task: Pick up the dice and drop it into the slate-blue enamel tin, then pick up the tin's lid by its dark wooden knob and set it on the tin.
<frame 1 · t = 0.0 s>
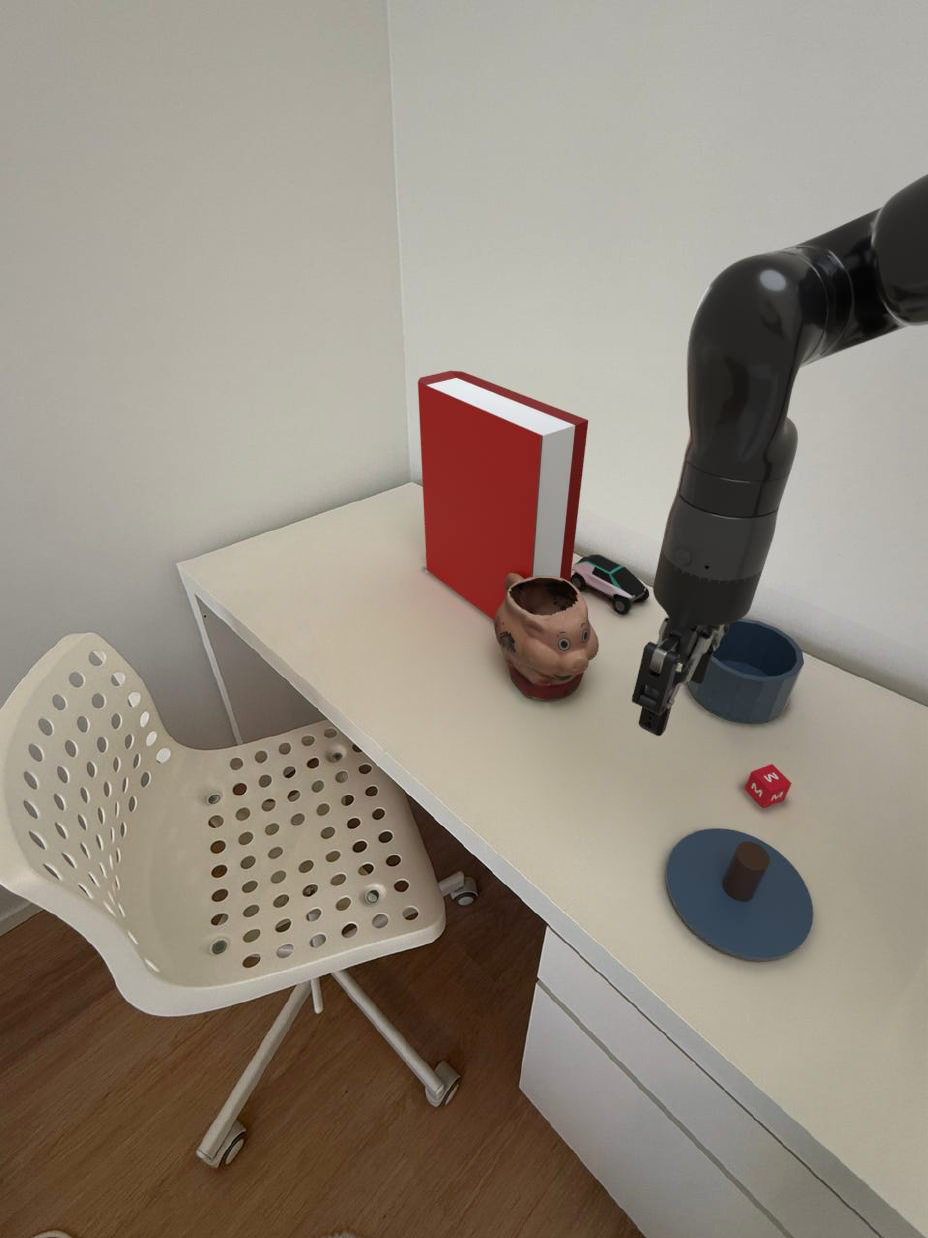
hand: (672, 702, 59), 19 cm above the table, tool pointing down, fingers open, 8 cm apart
tin: (735, 689, 88), on the table
decorative planter: (537, 672, 91), on the table
dice: (763, 795, 74), on the table
toy car: (606, 594, 106), on the table
book: (489, 594, 106), on the table
lid: (736, 890, 64), point 1 cm above the table
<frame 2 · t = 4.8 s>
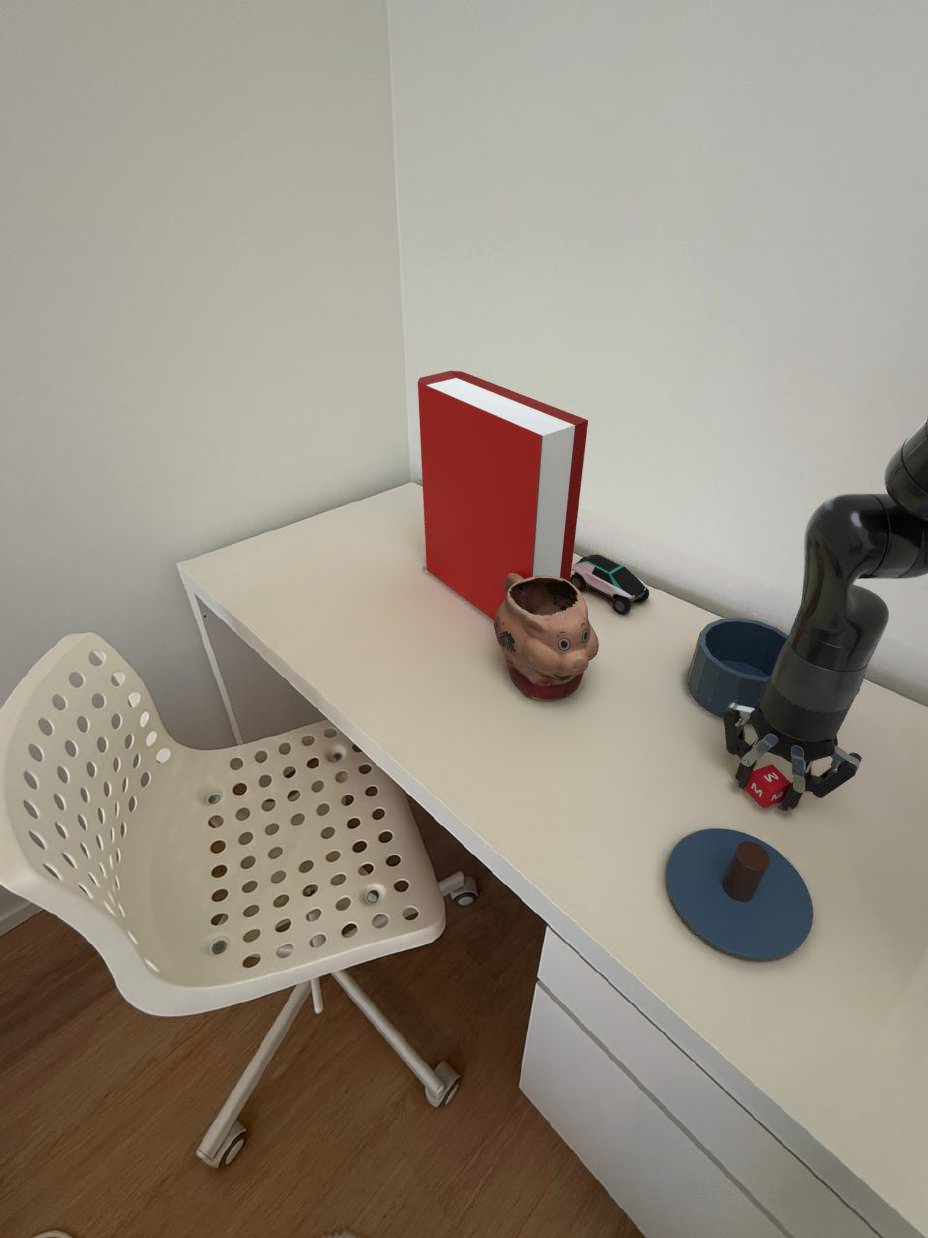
hand: (764, 793, 74), 0 cm above the table, tool pointing down, fingers closed on dice, 4 cm apart
dice: (763, 795, 74), on the table, touching gripper
everything else where it was.
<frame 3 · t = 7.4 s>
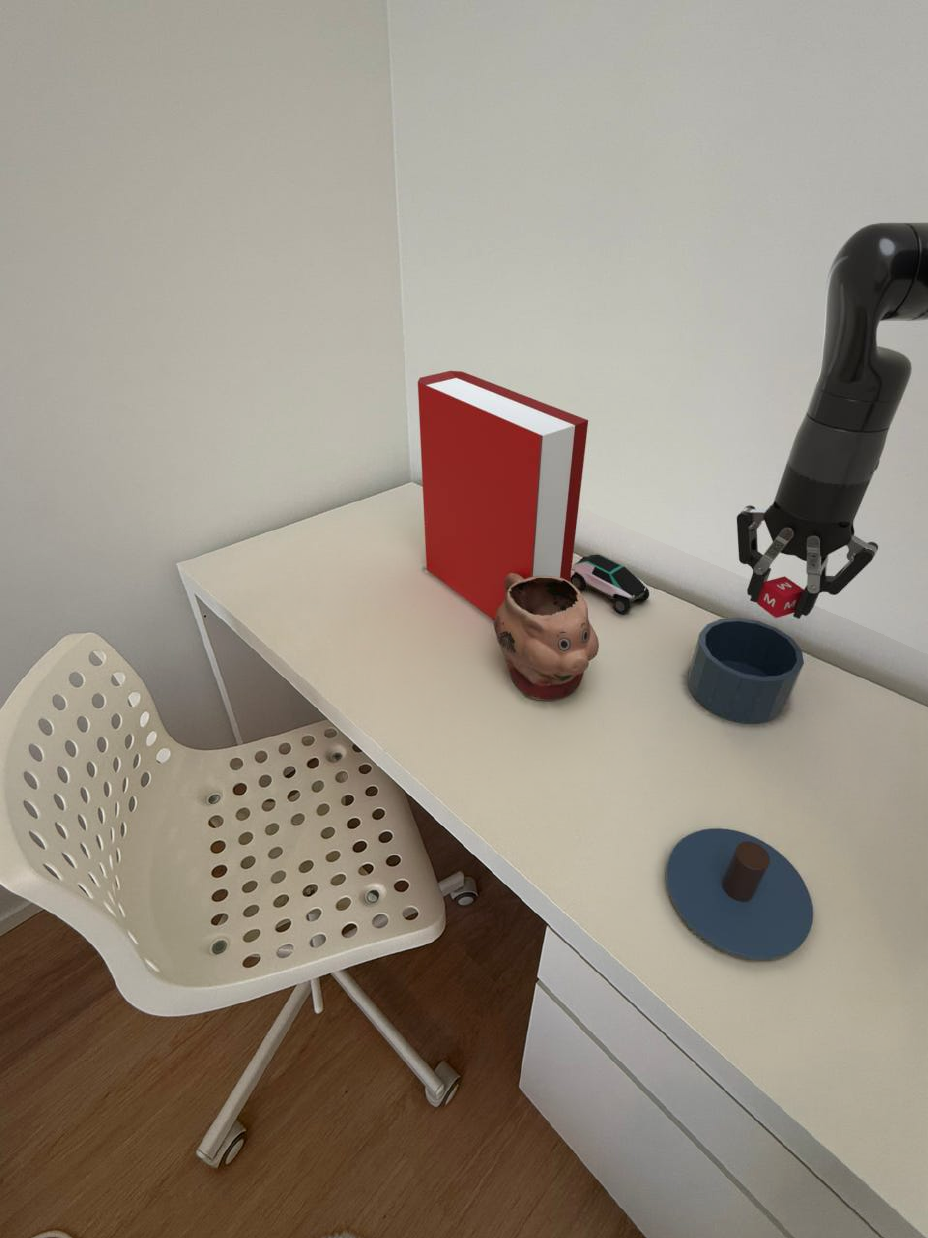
hand: (777, 605, 73), 18 cm above the table, tool pointing down, fingers closed on dice, 4 cm apart
dice: (775, 609, 73), point 17 cm above the table, touching gripper
everything else where it was.
when the fingers open (7 cm above the table, at t = 10.3 s): dice drops 6 cm, resting on tin.
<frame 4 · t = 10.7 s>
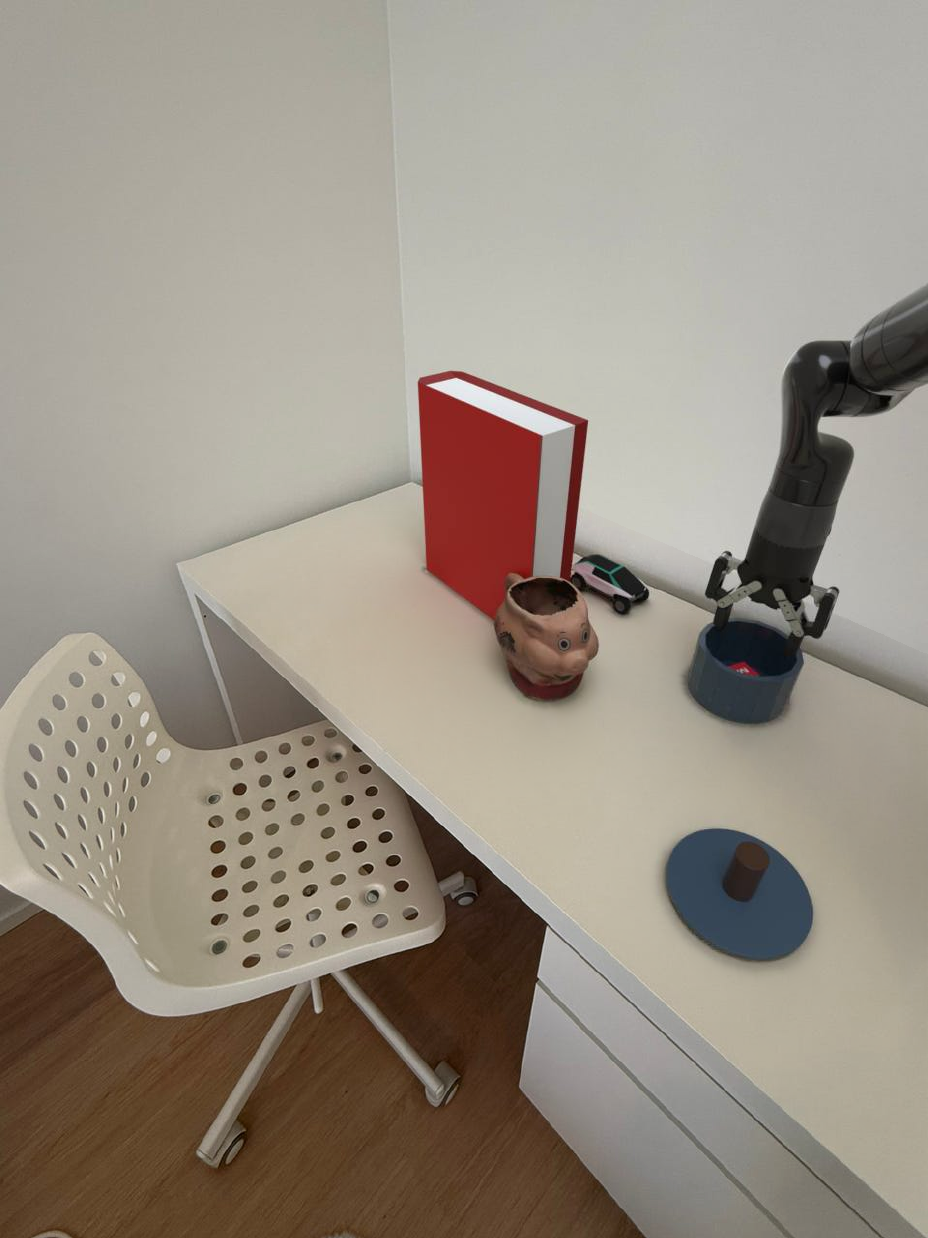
hand: (753, 641, 83), 9 cm above the table, tool pointing down, fingers open, 8 cm apart
dice: (736, 688, 87), resting on tin
everything else where it was.
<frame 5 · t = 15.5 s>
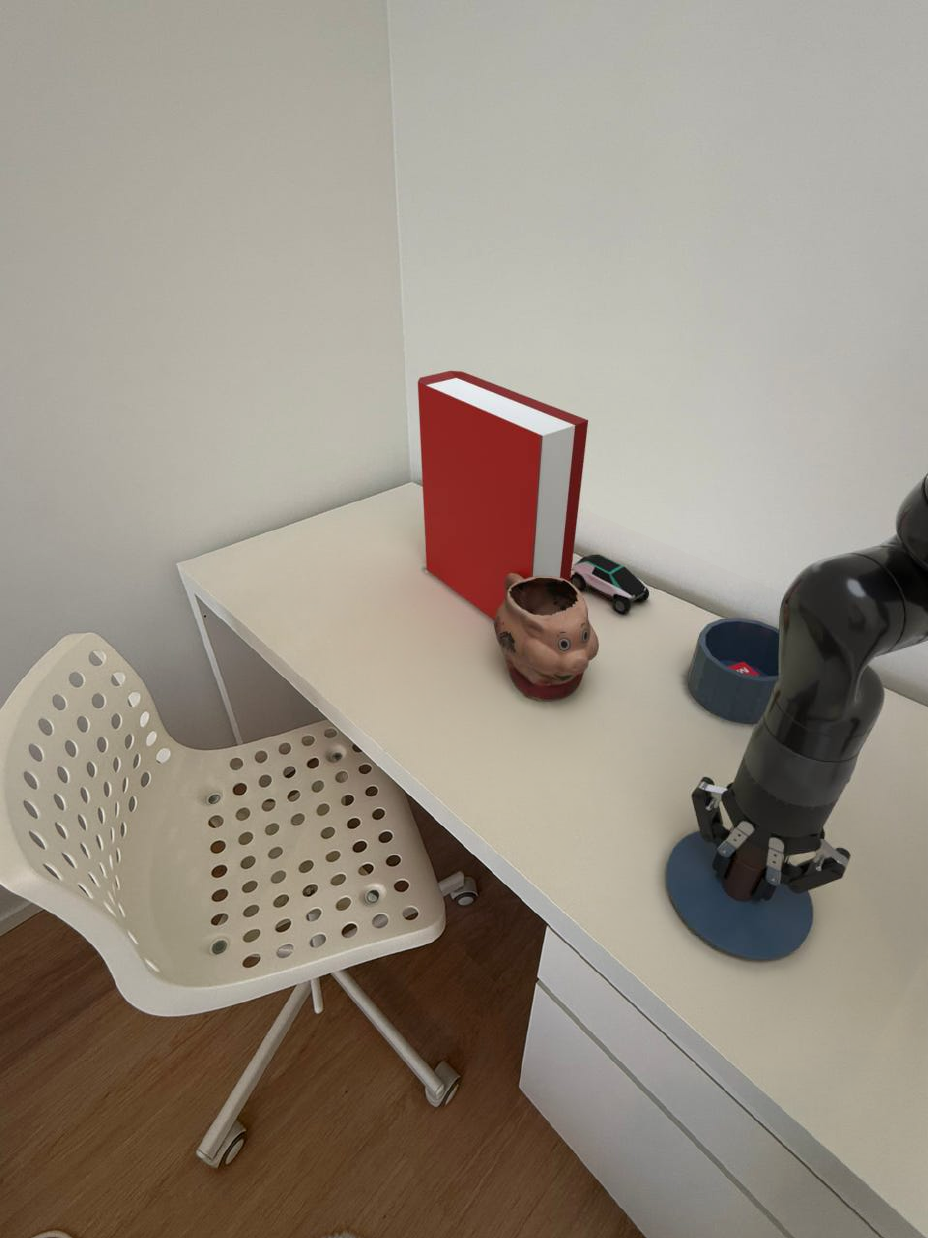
hand: (740, 882, 63), 2 cm above the table, tool pointing down, fingers closed on lid, 3 cm apart
lid: (736, 890, 64), point 1 cm above the table, touching gripper
everything else where it was.
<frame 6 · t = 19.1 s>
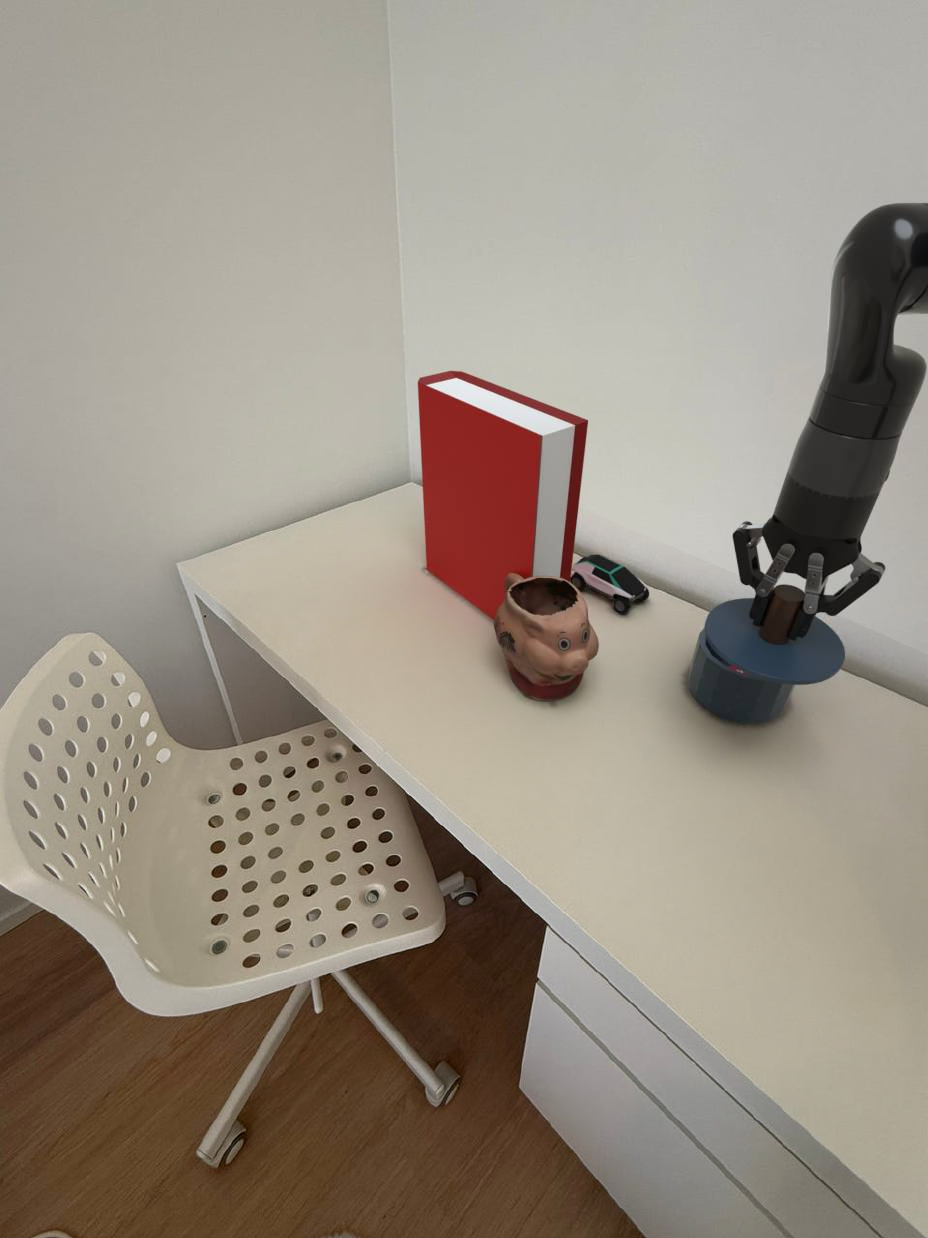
hand: (776, 628, 67), 20 cm above the table, tool pointing down, fingers closed on lid, 3 cm apart
lid: (771, 640, 68), point 18 cm above the table, touching gripper
everything else where it was.
when the fingers open (9 cm above the table, at t = 22.8 s): lid stays where it is, resting on tin.
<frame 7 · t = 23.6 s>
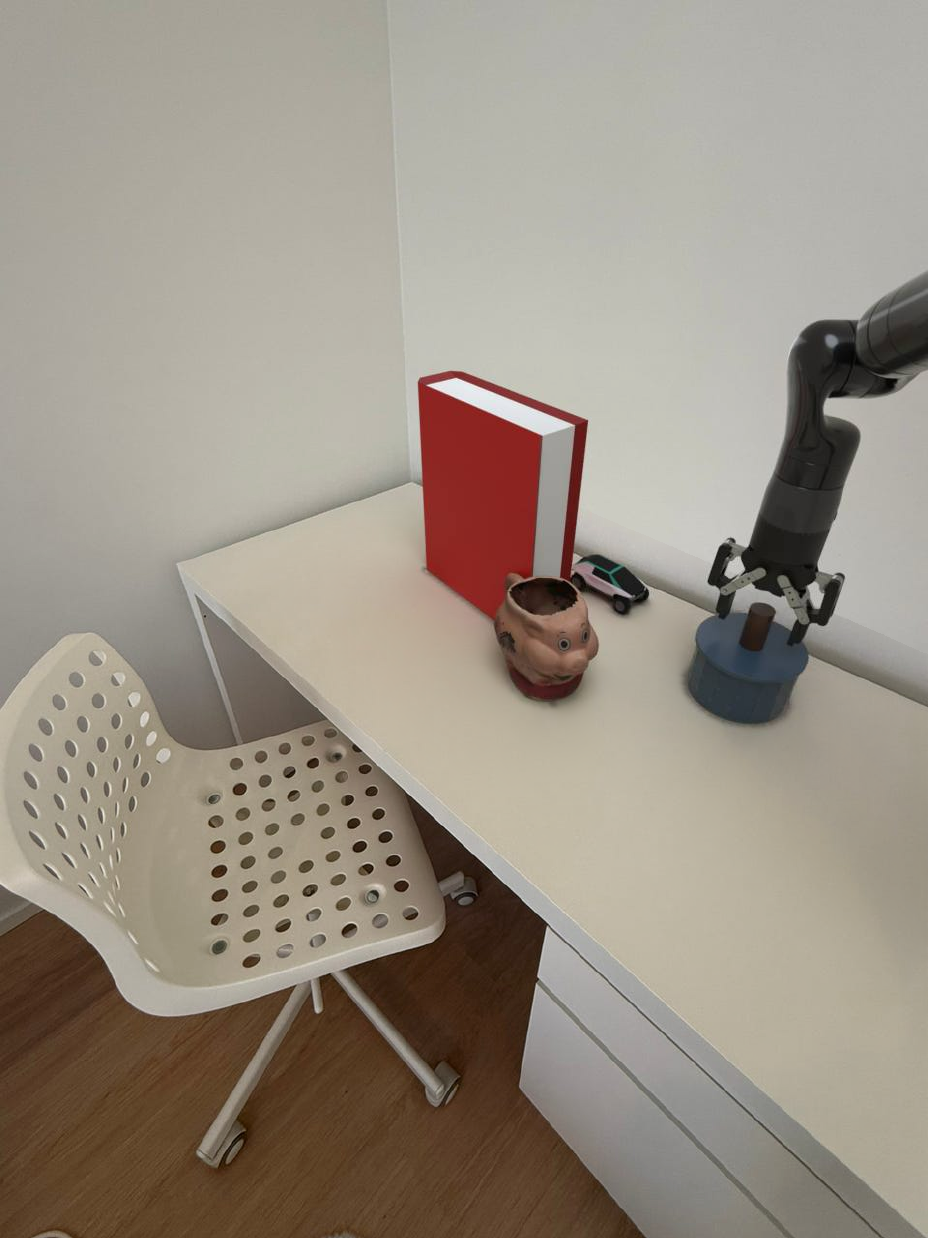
hand: (756, 629, 81), 10 cm above the table, tool pointing down, fingers open, 8 cm apart
lid: (749, 647, 83), point 7 cm above the table, touching tin
everything else where it was.
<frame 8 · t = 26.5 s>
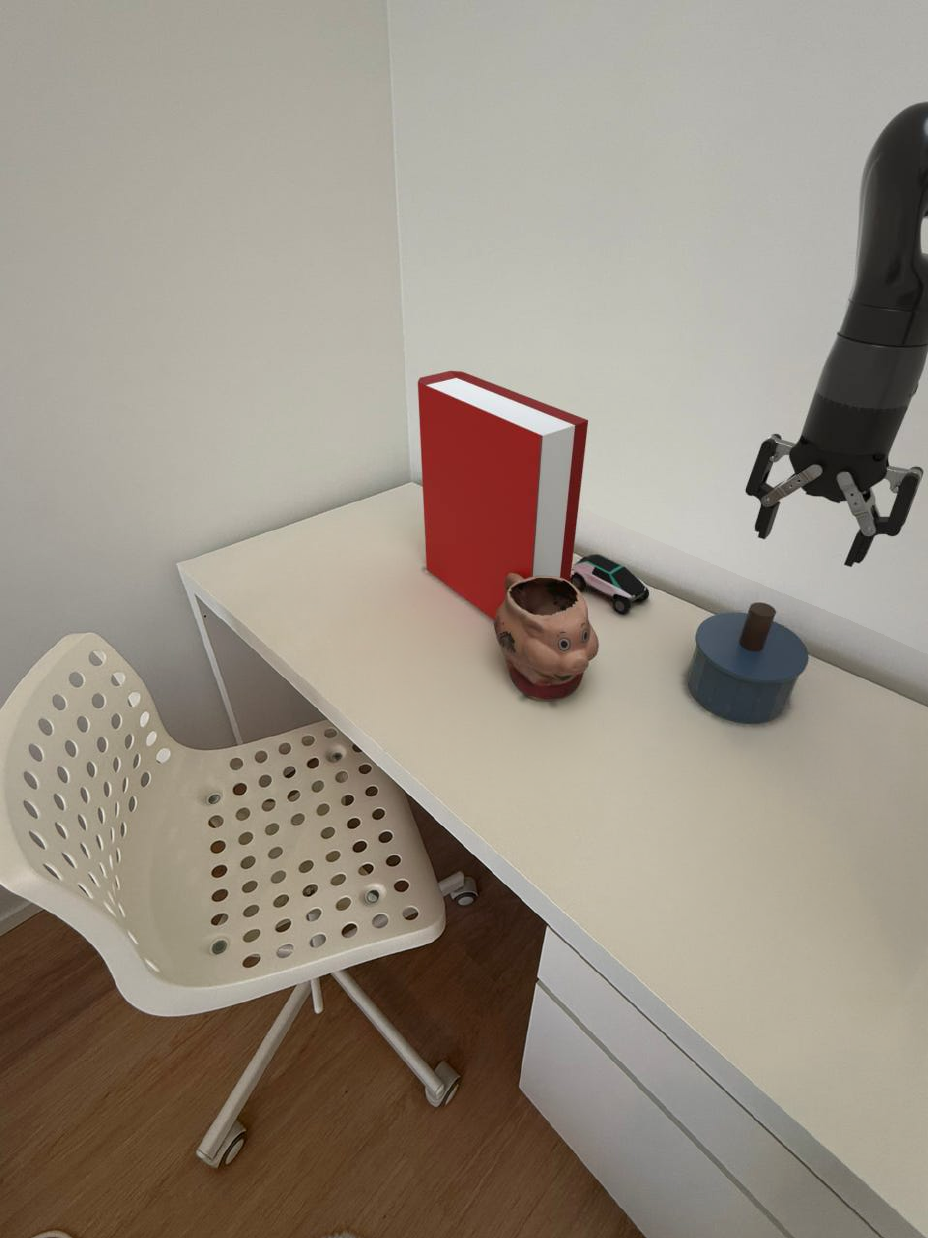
hand: (805, 549, 67), 26 cm above the table, tool pointing down, fingers open, 8 cm apart
nothing on the table moved.
at the end: dice inside the target area in the tin (0.1 cm from its centre), point 0.3 cm above the tin's base; lid 0.1 cm off-centre on the tin, point 7.5 cm above the tin's base; lid tilted 0° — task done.
